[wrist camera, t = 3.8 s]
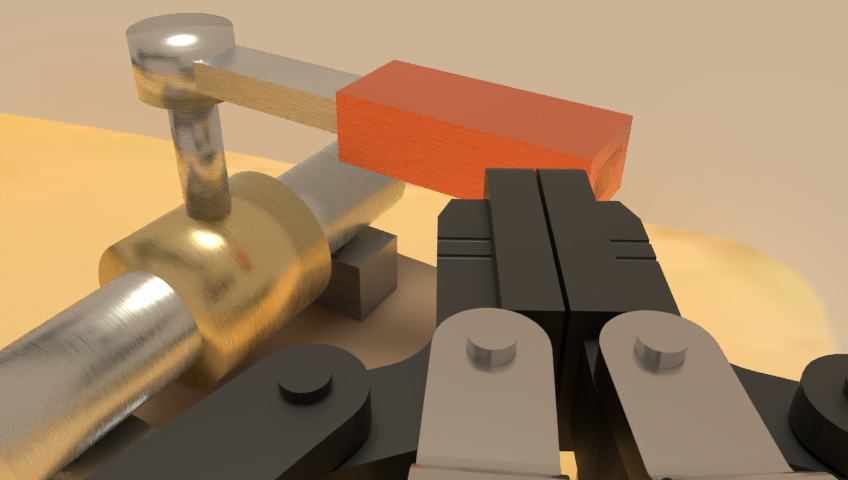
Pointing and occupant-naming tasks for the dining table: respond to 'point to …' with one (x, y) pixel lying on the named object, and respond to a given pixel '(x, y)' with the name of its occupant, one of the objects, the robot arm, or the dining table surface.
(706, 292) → the dining table surface
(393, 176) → the valve lever
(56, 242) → the dining table surface
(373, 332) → the base board
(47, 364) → the pipe valve
